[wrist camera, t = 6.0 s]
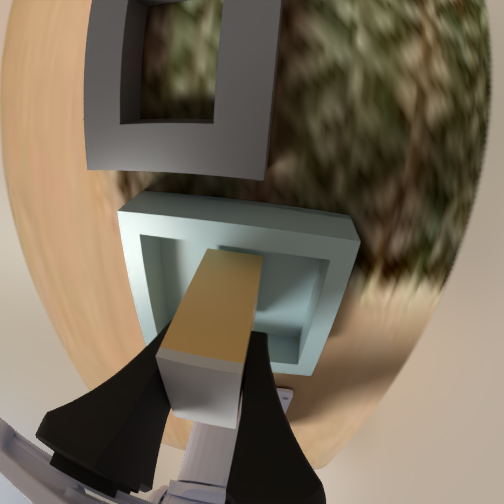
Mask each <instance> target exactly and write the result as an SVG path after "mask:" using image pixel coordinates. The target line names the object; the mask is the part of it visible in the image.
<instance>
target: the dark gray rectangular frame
mask: <svg viewBox="0 0 504 504" xmlns="http://www.w3.org/2000/svg"><path fill="white" fill-rule="evenodd" d="M179 1H187V0H92V4H91V10H90V17H89V24H88V32H87V41H86V52H85V67H84V131H85V147H86V159H87V169H88V170H128V171H155V172H173V173H189V174H202V175H214V176H225V177H235V178H244V179H253V180H262V181H264V178H265V174H266V171H267V167H268V157H269V147H270V138H271V128H272V118H273V108H274V98H275V88H276V78H277V68H278V57H279V47H280V36H281V26H282V15H283V4H284V0H224V4H223V12H222V22H221V31H220V42H219V53H218V64H217V77H216V91H215V106H214V119H140V113H141V77H142V60H143V47H144V36H145V27H146V18H147V10H148V6H153V5H159V4H165V3H171V2H179Z"/></svg>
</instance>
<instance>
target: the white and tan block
mask: <svg viewBox="0 0 504 504" xmlns="http://www.w3.org/2000/svg"><path fill="white" fill-rule="evenodd" d="M262 262H263V256H260V255H253V254H246V253H238V252H231V251H224V250H217V249H209V248H207V250H206V252H205V254H204V256H203V258H202V260H201V262H200V264H199V266H198V268H197V270H196V272H195V274H194V276H193V278H192V280H191V282H190V284H189V286H188V288H187V291H186V293H185V295H184V297H183V299H182V301H181V303H180V305H179V307H178V309H177V311H176V313H175V316H174V318H173V320H172V322H171V324H170V326H169V328H168V330H167V333H166V335H165V337H164V339H163V341H162V343H161V346H160V348H159V350H158V352H157V354H156V360H157V363H158V367H159V370H160V374H161V377H162V380H163V383H164V387H165V390H166V393H167V396H168V399H169V402H170V405H171V408H172V411H173V413H174V416H175V417H179V418H183V419H187V420H192V421H196V422H200V423H205V424H210V425H215V426H220V427H226V428H232V429H236V426H237V420H238V415H239V410H240V404H241V399H242V393H243V383H244V374H245V366H246V357H247V350H248V345H249V340H250V335H251V331H254V325H255V318H256V310H257V302H258V294H259V286H260V278H261V270H262Z"/></svg>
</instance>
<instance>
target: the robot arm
mask: <svg viewBox="0 0 504 504" xmlns="http://www.w3.org/2000/svg"><path fill="white" fill-rule="evenodd" d="M172 320H173V318H172V319H171V320H170V321H169V323H168V324H167V325H166V326H165V327H164V328H163V329H162V331H161V332H160V333H159V334H158V335H157V336H156V337H155V338H154V339H153V340H152V341H151V342H150V343H149V344H148V345H147V346H146V347H145V348H144V349H143V350H142V351H141V352H140V353H139V354H138V355H137V356H136V357H135V358H134V359H133V360H132V361H130V362H129V363H128V364H127V365H126V366H125V367H124V368H122V369H121V370H120V371H119V372H118V373H116V374H115V375H114V376H112V377H111V378H110V379H108V380H107V381H105V382H104V383H103V384H101V385H100V386H98V387H97V388H95V389H94V390H92V391H90V392H89V393H87V394H85V395H83V396H81V397H80V398H78V399H76V400H74V401H72V402H70V403H68V404H66V405H64V406H61V407H59V408H56V409H54V410H52V411H49V412H47V414H46V415H45V417H44V418H43V420H42V422H41V424H40V426H39V428H38V431H37V432H36V438H38V439H39V440H40V441H41V442H43V443H44V444H45V445H47V446H48V447H49V448H51V449H52V450H53V451H55V452H54V454H53V456H51V455H49V454H48V453H46V452H45V451H43V450H41V449H40V448H39V447H37V446H35V445H34V444H33V443H31V442H30V441H28V440H27V439H26V438H24V437H23V436H22V435H20V434H19V433H17V432H16V431H15V430H14V429H13V428H12V427H11V426H10V425H8V424H7V423H6V422H5V421H4V420H2V419H1V418H0V473H1V474H2V475H3V476H4V477H5V478H6V479H7V480H8V481H9V482H10V483H11V484H12V485H13V486H14V487H15V488H16V489H17V490H18V491H19V492H20V493H21V494H22V495H23V496H25V498H27V499H28V500H29V501H30V502H31V503H32V504H109V503H107V502H105V501H102V500H100V499H98V498H96V497H93V496H91V495H89V494H86V492H85V490H84V488H86V489H87V490H89V491H92V492H94V493H95V494H98V495H100V496H102V497H104V498H106V499H109V500H111V501H113V502H115V503H118V504H326V497H325V492H324V488H323V485H322V482H321V481H320V479H319V478H318V476H317V475H316V473H315V472H314V470H313V469H312V467H311V465H310V464H309V462H308V460H307V459H306V457H305V455H304V454H303V452H302V450H301V448H300V446H299V444H298V442H297V440H296V438H295V436H294V434H293V432H292V430H291V427H290V425H289V423H288V420H287V418H286V415H285V413H286V411H287V409H288V406H289V404H290V402H291V399H292V397H293V391H292V390H290V389H283V388H276V385H275V382H274V377H273V373H272V369H271V364H270V358H269V350H268V334H267V333H265V332H258V331H251V335H250V340H249V345H248V350H247V357H246V366H245V374H244V383H243V393H242V399H241V404H240V410H239V415H238V420H237V426H236V429H232V428H226V427H220V426H215V425H210V424H205V423H200V422H196V421H194V422H193V426H192V429H191V433H190V437H189V440H188V444H187V447H186V451H185V455H184V459H183V463H182V465H181V469H180V473H179V476H178V480H177V481H174V480H170V484H169V486H162V487H160V488H159V489H157V490H155V491H154V492H153V493H152V494H151V495H150V496H149V498H148V499H147V501H146V500H143V499H140V498H137V497H134V496H132V495H130V492H131V491H132V492H135V493H138V492H139V491H142V492H148V491H150V490H152V486H153V479H154V473H155V468H156V463H157V458H158V453H159V448H160V444H161V440H162V436H163V432H164V428H165V424H166V421H167V417H168V415H169V412H170V409H171V405H170V402H169V399H168V396H167V393H166V390H165V387H164V383H163V380H162V377H161V374H160V370H159V367H158V363H157V360H156V354H157V352H158V350H159V348H160V346H161V343H162V341H163V339H164V337H165V335H166V333H167V330H168V328H169V326H170V324H171V322H172ZM83 487H84V488H83Z"/></svg>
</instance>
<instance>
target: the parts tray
mask: <svg viewBox="0 0 504 504" xmlns="http://www.w3.org/2000/svg"><path fill="white" fill-rule="evenodd" d="M117 212H118V219H119V226H120V233H121V239H122V245H123V250H124V256H125V261H126V266H127V271H128V276H129V281H130V286H131V290H132V295H133V299H134V303H135V307H136V311H137V315H138V319H139V323H140V326H141V330H142V334H143V337H144V341H145V344H146V346H147V345H148V344H149V343H150V342H151V341H152V340H153V339H154V338H155V337H156V336H157V335H158V334H159V333H160V332H161V331H162V329H163V328H164V327H165V326H166V325H167V324H168V323H169V321H170V320H171V319H172V318H174V316H175V313H176V311H177V309H178V307H179V305H180V303H181V301H182V299H183V297H184V295H185V293H186V291H187V288H188V286H189V284H190V282H191V280H192V278H193V276H194V274H195V272H196V270H197V268H198V266H199V264H200V262H201V260H202V258H203V256H204V254H205V252H206V250H207V248H209V249H217V250H224V251H231V252H238V253H246V254H253V255H260V256H263V262H262V270H261V278H260V286H259V294H258V302H257V310H256V318H255V325H254V331H258V332H265V333H267V334H268V350H269V358H270V364H271V369H272V372H277V373H286V374H295V375H306V376H311V375H312V373H313V371H314V368H315V366H316V364H317V362H318V359H319V357H320V354H321V352H322V350H323V347H324V345H325V342H326V340H327V337H328V335H329V332H330V330H331V327H332V325H333V322H334V319H335V317H336V314H337V311H338V309H339V306H340V303H341V300H342V298H343V295H344V292H345V289H346V286H347V283H348V280H349V277H350V274H351V271H352V268H353V265H354V262H355V259H356V255H357V252H358V249H359V246H360V239H359V237H358V234H357V232H356V229H355V227H354V225H353V222H352V220H351V218H350V215H345V214H339V213H333V212H327V211H320V210H314V209H307V208H300V207H293V206H286V205H279V204H271V203H263V202H255V201H247V200H239V199H230V198H221V197H211V196H201V195H191V194H180V193H168V192H155V191H142V192H141V193H139V194H138V195H137V196H135V197H134V198H133V199H132V200H130V201H129V202H128V203H127V204H125V205H124V206H123V207H122V208H120V209H119V210H118V211H117Z"/></svg>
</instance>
